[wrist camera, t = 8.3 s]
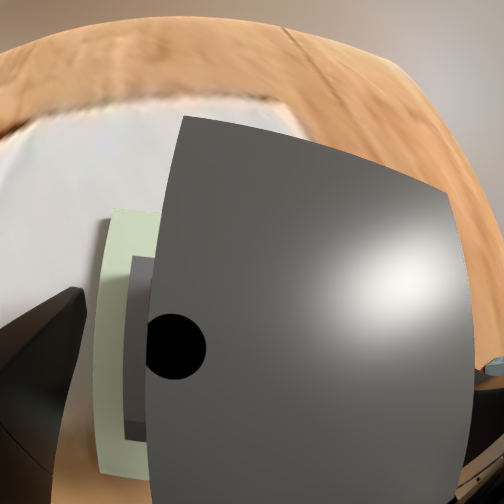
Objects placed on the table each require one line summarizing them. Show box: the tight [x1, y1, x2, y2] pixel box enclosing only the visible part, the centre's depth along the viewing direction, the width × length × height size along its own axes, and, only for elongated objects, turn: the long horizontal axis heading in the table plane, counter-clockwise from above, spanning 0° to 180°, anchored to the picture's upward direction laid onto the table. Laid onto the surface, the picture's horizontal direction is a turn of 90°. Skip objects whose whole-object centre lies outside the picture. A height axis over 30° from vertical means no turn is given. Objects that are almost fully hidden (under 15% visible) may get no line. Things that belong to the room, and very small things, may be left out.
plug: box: [145, 116, 475, 504], centre depth 8 cm, size 6×4×13 cm, turn 179°
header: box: [92, 208, 162, 481], centre depth 13 cm, size 16×12×4 cm
